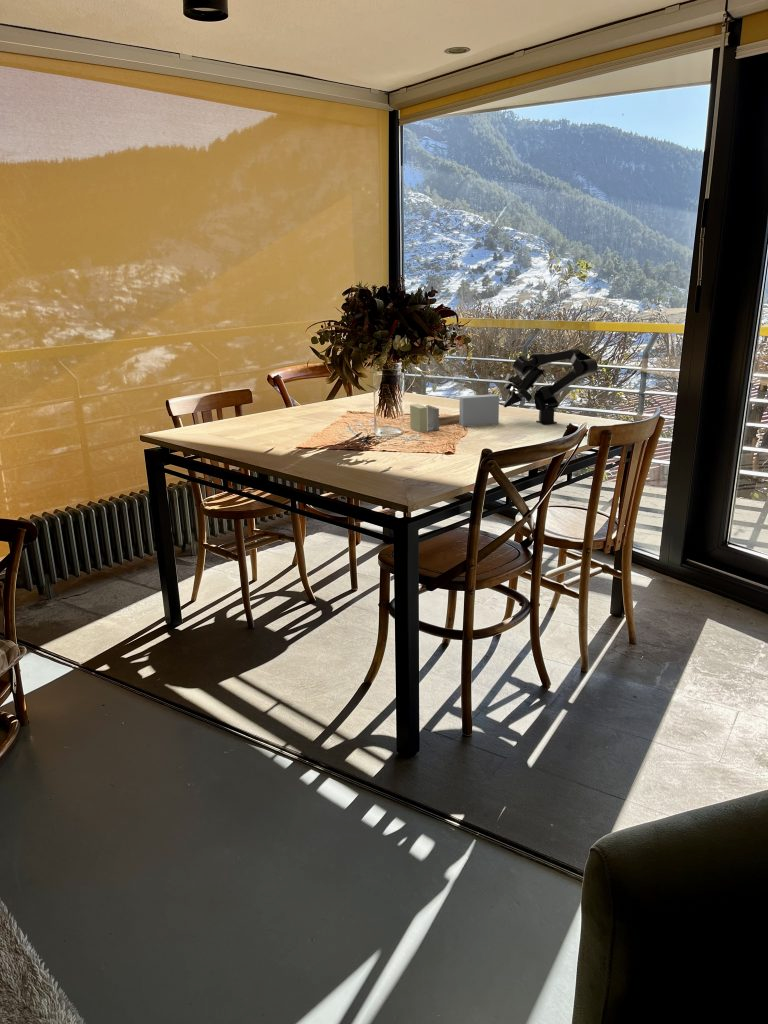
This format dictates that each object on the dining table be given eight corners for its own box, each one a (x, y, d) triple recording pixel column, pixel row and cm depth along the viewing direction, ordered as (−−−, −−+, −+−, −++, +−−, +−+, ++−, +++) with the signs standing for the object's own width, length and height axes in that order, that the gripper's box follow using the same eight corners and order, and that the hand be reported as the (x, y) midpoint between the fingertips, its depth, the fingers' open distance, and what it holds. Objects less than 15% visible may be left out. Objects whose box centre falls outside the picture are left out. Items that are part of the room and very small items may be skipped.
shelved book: (428, 431, 319) (427, 407, 316) (419, 432, 318) (419, 407, 315) (418, 427, 327) (417, 403, 324) (410, 428, 326) (409, 404, 323)
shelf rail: (491, 418, 340) (491, 412, 339) (430, 426, 329) (430, 419, 328) (489, 417, 342) (489, 411, 341) (428, 425, 331) (428, 418, 330)
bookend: (438, 430, 321) (438, 408, 318) (424, 431, 319) (424, 410, 316) (429, 426, 329) (429, 405, 326) (415, 427, 327) (415, 406, 324)
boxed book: (494, 421, 335) (495, 393, 331) (498, 423, 331) (499, 395, 327) (459, 424, 332) (459, 396, 328) (462, 426, 327) (463, 398, 323)
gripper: (508, 363, 336) (484, 390, 337) (525, 369, 319) (499, 397, 320) (525, 381, 340) (500, 407, 341) (542, 387, 323) (517, 415, 324)
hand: (504, 406), depth 331 cm, fingers closed
